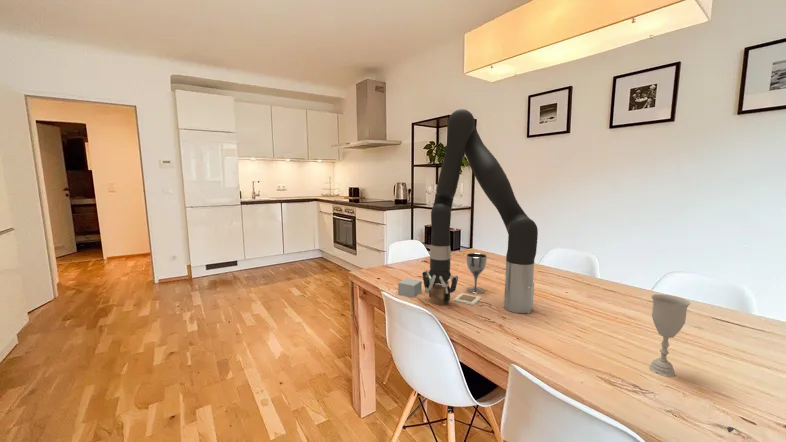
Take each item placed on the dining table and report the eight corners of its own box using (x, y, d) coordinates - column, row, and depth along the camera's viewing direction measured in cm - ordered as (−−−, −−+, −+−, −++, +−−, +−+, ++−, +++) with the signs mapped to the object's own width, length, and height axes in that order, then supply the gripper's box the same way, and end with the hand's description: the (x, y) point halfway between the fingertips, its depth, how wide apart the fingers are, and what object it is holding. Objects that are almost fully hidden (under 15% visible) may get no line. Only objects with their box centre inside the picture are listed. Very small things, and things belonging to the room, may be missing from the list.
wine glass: (483, 287, 138) (484, 253, 136) (486, 294, 130) (488, 257, 128) (464, 286, 138) (465, 252, 136) (466, 293, 131) (468, 257, 129)
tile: (480, 298, 125) (481, 296, 125) (473, 305, 118) (473, 303, 118) (461, 294, 129) (461, 292, 129) (453, 300, 122) (453, 298, 122)
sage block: (439, 289, 136) (439, 275, 135) (436, 293, 131) (437, 279, 130) (427, 288, 137) (427, 274, 136) (424, 291, 132) (425, 277, 132)
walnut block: (448, 301, 122) (448, 286, 121) (442, 305, 118) (442, 290, 117) (436, 298, 125) (436, 283, 124) (430, 303, 121) (430, 287, 120)
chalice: (664, 362, 82) (672, 294, 79) (690, 378, 75) (699, 304, 73) (636, 362, 81) (643, 294, 79) (659, 379, 75) (668, 305, 72)
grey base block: (421, 292, 132) (421, 280, 131) (413, 298, 126) (413, 285, 125) (406, 289, 135) (406, 278, 135) (398, 294, 129) (398, 282, 129)
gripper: (462, 257, 118) (461, 301, 120) (427, 252, 126) (426, 293, 128) (454, 261, 112) (453, 308, 114) (418, 256, 120) (417, 299, 122)
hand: (439, 300), depth 121 cm, fingers open, 5 cm apart
